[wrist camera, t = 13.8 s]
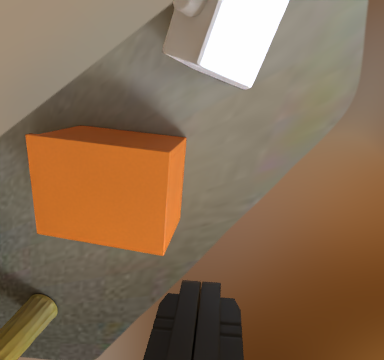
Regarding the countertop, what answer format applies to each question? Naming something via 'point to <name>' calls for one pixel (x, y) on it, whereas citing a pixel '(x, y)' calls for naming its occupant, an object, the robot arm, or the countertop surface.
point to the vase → (26, 326)
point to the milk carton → (224, 36)
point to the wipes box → (146, 141)
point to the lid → (100, 192)
